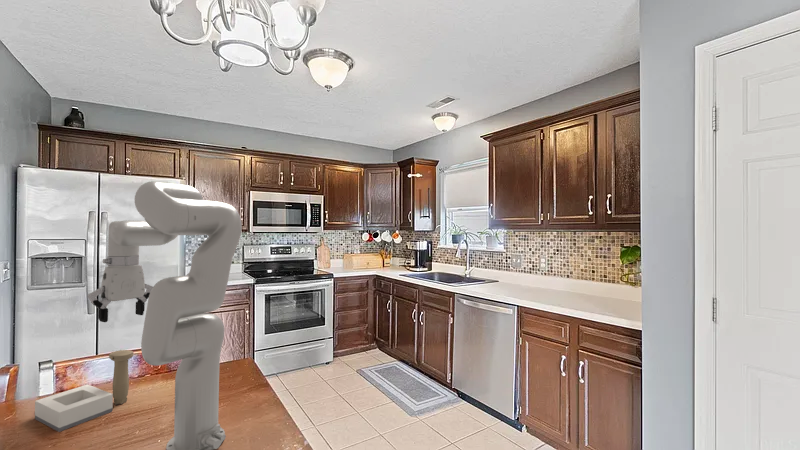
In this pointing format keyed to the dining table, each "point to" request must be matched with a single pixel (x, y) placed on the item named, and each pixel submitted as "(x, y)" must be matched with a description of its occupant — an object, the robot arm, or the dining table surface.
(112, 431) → the dining table surface
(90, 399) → the socket stand
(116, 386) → the handle
